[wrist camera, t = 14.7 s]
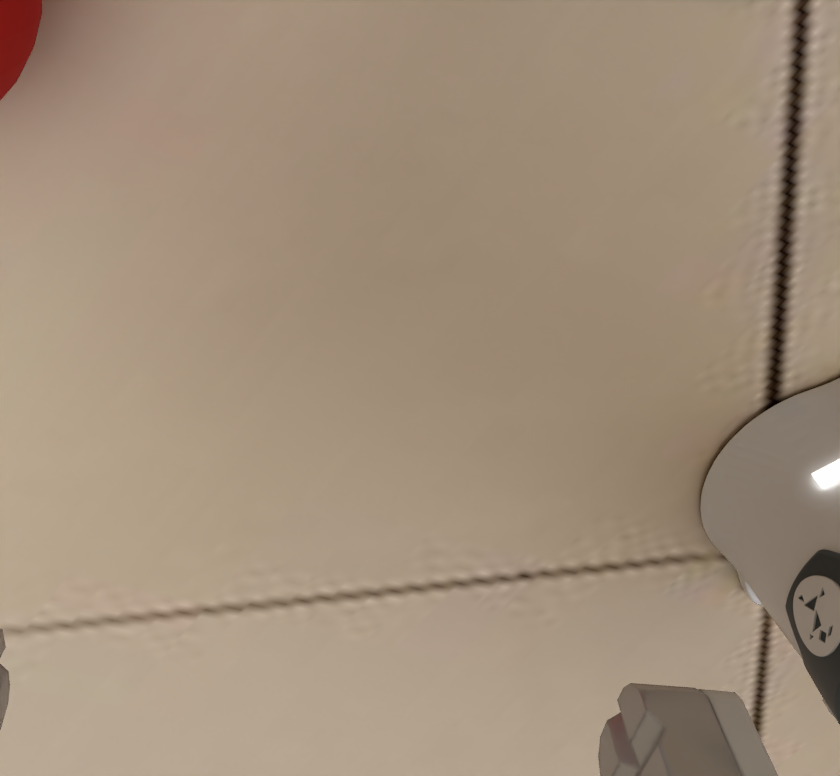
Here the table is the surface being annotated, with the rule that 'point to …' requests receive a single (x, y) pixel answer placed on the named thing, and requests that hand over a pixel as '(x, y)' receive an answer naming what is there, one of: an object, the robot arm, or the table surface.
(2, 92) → the ceramic cup
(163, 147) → the table surface
